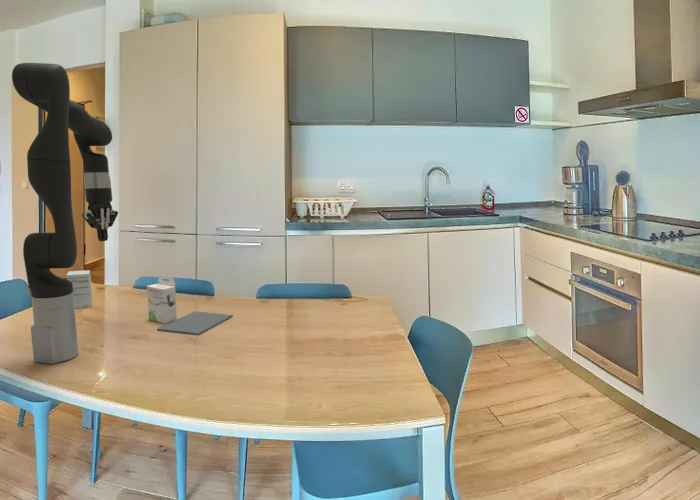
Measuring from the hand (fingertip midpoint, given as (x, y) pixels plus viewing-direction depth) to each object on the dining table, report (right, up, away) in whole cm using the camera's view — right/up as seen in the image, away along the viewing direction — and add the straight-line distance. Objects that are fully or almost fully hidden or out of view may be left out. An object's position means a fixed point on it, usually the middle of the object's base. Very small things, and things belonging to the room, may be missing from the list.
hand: (103, 240), depth 152 cm
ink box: (+17, -27, +5) cm, 32 cm away
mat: (+30, -27, +2) cm, 40 cm away
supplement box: (-20, -24, +22) cm, 38 cm away
